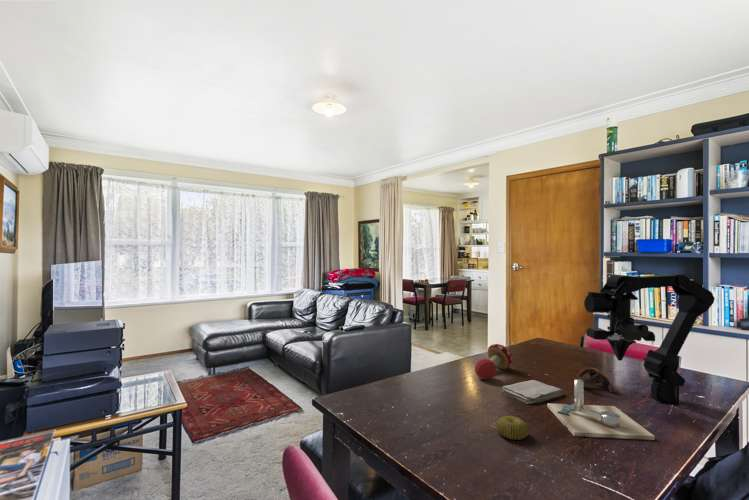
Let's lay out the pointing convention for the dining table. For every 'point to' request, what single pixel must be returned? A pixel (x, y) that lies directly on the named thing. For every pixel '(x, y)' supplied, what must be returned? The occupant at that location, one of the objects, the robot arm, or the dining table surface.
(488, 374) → the tomato
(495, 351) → the decorative mushroom
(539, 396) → the washcloth
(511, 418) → the green sea urchin shell
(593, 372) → the pottery mug
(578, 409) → the crank handle
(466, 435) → the dining table surface
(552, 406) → the napkin
